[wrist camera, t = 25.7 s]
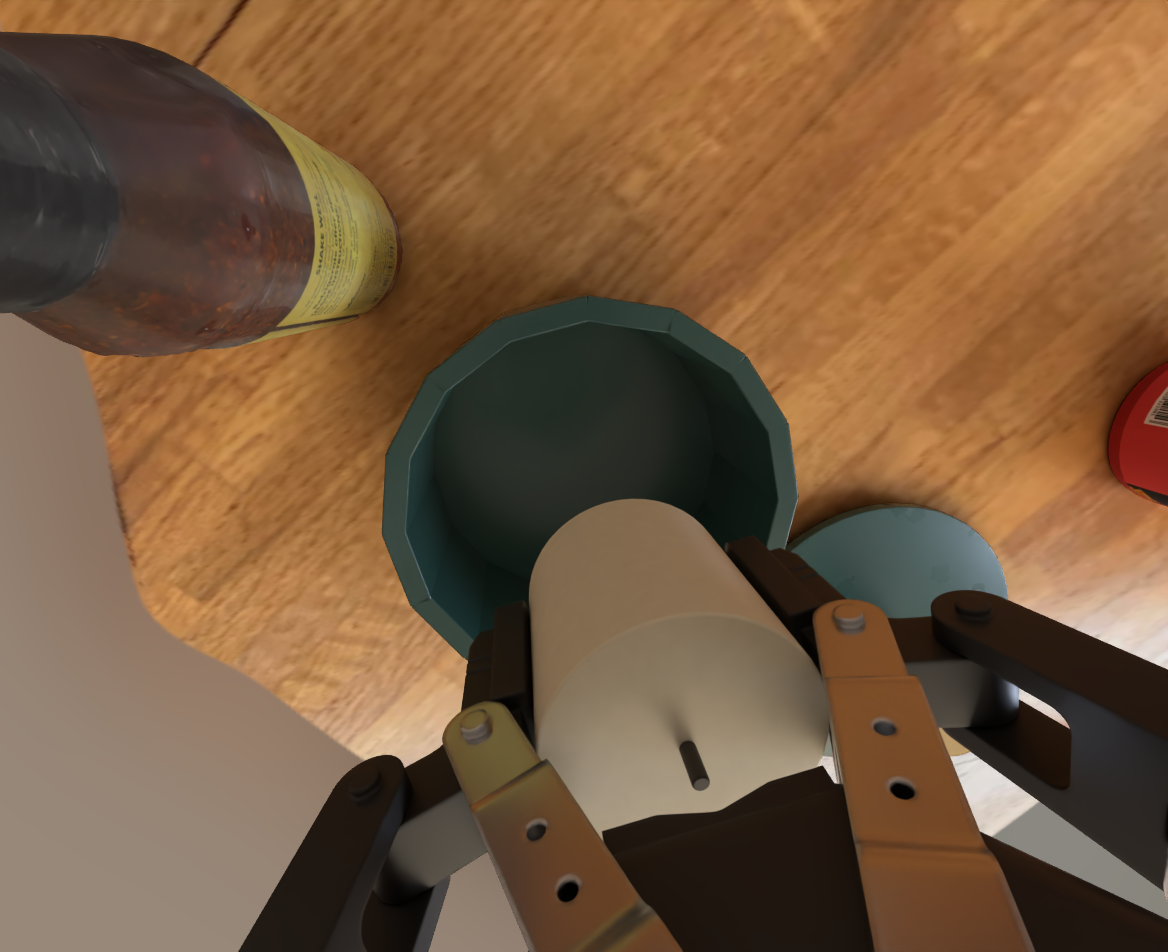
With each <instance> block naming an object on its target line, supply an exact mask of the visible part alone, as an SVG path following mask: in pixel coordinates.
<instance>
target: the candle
mask: <svg viewBox="0 0 1168 952" xmlns="http://www.w3.org/2000/svg"><path fill="white" fill-rule="evenodd" d="M529 610H530V634H531V659H532V684H533V708H534V733H535V751H536V753H537V755H538V756H539V758H540V759H541V761H543V760H544V759H548V760H549V761H550V763H551V764H552V765H553V767H554V768H555V770H556V771H557V773H558V774H559V776H560V777H561V779H562V780H563V782H564V783H565V785H566V786H567V788H568V789H569V791H570V792H571V794H572V795H573V797H574V798H575V800H576V801H577V803H578V804H579V806H580V807H581V809H582V810H583V812H584V813H585V815H586V816H587V818H588V819H589V821H590V822H591V824H592V825H593V827H594V828H595V830H596V831H597V833H598V834H599V836H600V837H601V839H602V840H603V836H602V831H604V830H608V829H611V828H615V827H618V826H621V825H625V824H628V823H631V822H635V821H638V820H641V819H645V818H648V817H651V816H655V815H666V814H684V813H703V812H716V811H719V810H721V809H724V808H725V807H727V806H729V805H730V804H732V803H734V802H735V801H737V800H739V799H740V798H742V797H744V796H745V795H747V794H749V793H750V792H752V791H754V790H756V789H757V788H759V787H761V786H762V785H764V784H766V783H767V782H769V781H772V780H776V779H779V778H782V777H786V776H789V775H793V774H796V773H799V772H803V771H806V770H809V769H813V768H816V767H818V766H819V764H820V761H821V759H822V756H823V754H824V751H825V747H826V743H827V739H828V734H829V724H830V722H829V715H828V709H827V703H826V698H825V692H824V686H823V681H822V677H821V675H820V672H819V671H818V669H817V667H816V666H815V664H814V662H813V661H812V659H811V658H810V657H809V655H808V654H807V653H806V652H805V650H804V649H803V648H802V647H801V646H800V644H799V643H798V642H797V641H796V639H795V638H794V637H793V636H792V635H791V633H790V632H789V631H788V630H787V628H786V627H785V626H784V625H783V623H782V622H781V621H780V620H779V619H778V617H777V616H776V615H775V614H774V612H773V611H772V610H771V609H770V608H769V606H768V605H767V604H766V603H765V601H764V600H763V599H762V598H761V596H760V595H759V594H758V593H757V592H756V590H755V589H754V588H753V587H752V585H751V584H750V583H749V582H748V581H747V579H746V578H745V577H744V576H743V574H742V573H741V572H740V571H739V569H738V568H737V567H736V566H735V565H734V563H733V562H732V561H731V560H730V558H729V557H728V556H727V555H726V554H725V552H724V551H723V550H722V549H721V547H720V546H719V545H718V544H717V543H716V541H715V540H714V539H713V538H712V536H711V535H710V534H709V533H708V532H707V530H706V529H705V528H704V527H703V526H702V525H701V524H700V523H699V522H698V521H697V520H696V519H694V518H693V517H692V516H690V515H689V514H687V513H686V512H684V511H683V510H680V509H678V508H676V507H674V506H672V505H669V504H666V503H662V502H659V501H653V500H647V499H623V500H616V501H611V502H607V503H603V504H600V505H598V506H595V507H592V508H590V509H588V510H586V511H584V512H582V513H580V514H578V515H577V516H575V517H574V518H572V519H571V520H569V521H568V522H567V523H565V524H564V525H563V526H562V527H561V528H560V529H558V530H557V532H556V533H555V534H554V535H553V536H552V537H551V538H550V539H549V541H548V542H547V543H546V545H545V546H544V548H543V549H542V551H541V553H540V555H539V557H538V559H537V560H536V563H535V566H534V569H533V571H532V576H531V580H530V587H529Z"/></svg>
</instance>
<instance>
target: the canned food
mask: <svg viewBox="0 0 1168 952" xmlns="http://www.w3.org/2000/svg"><path fill="white" fill-rule="evenodd" d="M1108 453H1109V462H1110V465H1111V468H1112V471H1113V473H1114V475H1115V476H1116V478H1117V479H1118V481H1119V482H1120V483H1122V484H1123V485H1124V486H1125V487H1126V488H1128V489H1129V490H1131V491H1132V492H1134V493H1135V494H1136V495H1138V496H1139V497H1142V498H1144V499H1146V500H1149V501H1152V502H1155V503H1158V504H1161V505H1164V506H1167V507H1168V362H1167V363H1165V364H1163V365H1161V366H1159V367H1158V368H1156V369H1155V370H1153V371H1152V372H1151V373H1149V374H1148V375H1147V376H1146V377H1145V378H1143V379H1142V380H1141V381H1140V382H1139V383H1138V384H1137V385H1136V386H1135V388H1134V389H1133V390H1132V391H1131V392H1130V394H1129V395H1128V396H1127V397H1126V399H1125V401H1124V402H1123V404H1122V406H1121V407H1120V409H1119V410H1118V413H1117V415H1116V417H1115V420H1114V422H1113V425H1112V429H1111V433H1110V437H1109V447H1108Z"/></svg>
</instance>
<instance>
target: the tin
mask: <svg viewBox="0 0 1168 952" xmlns="http://www.w3.org/2000/svg"><path fill="white" fill-rule="evenodd" d="M798 497H799V496H798V489H797V481H796V474H795V467H794V459H793V452H792V445H791V437H790V430H789V424H788V423H787V420H786V418H785V416H784V415H783V413H782V412H781V410H780V408H779V407H778V405H777V404H776V402H775V400H774V399H773V397H772V396H771V394H770V392H769V391H768V389H767V388H766V386H765V384H764V383H763V381H762V380H761V378H760V376H759V375H758V373H757V372H756V370H755V368H754V367H753V365H752V364H751V362H750V360H749V359H748V357H746V356H745V354H744V353H742V352H741V351H739V350H738V349H736V348H735V347H733V346H732V345H730V344H729V343H727V342H726V341H724V340H723V339H721V338H720V337H718V336H716V335H715V334H713V333H712V332H710V331H709V330H707V329H706V328H704V327H703V326H701V325H700V324H698V323H697V322H695V321H694V320H692V319H690V318H689V317H687V316H686V315H684V314H683V313H681V312H680V311H678V310H675V309H674V308H667V307H661V306H655V305H648V304H642V303H635V302H629V301H622V300H616V299H610V298H603V297H597V296H590V295H579V296H564V297H561V298H557V299H553V300H549V301H546V302H542V303H538V304H534V305H530V306H527V307H523V308H519V309H515V310H512V311H508V312H504V313H503V314H501V315H499V316H498V317H497V318H496V319H494V320H493V321H492V322H491V323H489V324H488V325H487V326H485V327H484V328H483V329H482V330H480V331H479V332H478V333H477V334H475V335H474V336H473V337H472V338H470V339H469V340H468V341H467V342H465V343H464V344H463V345H462V346H460V347H459V348H458V349H457V350H455V351H454V352H453V353H452V354H450V355H449V356H448V357H447V358H446V359H445V360H443V361H442V362H441V363H440V364H439V365H438V366H437V367H435V368H434V369H433V370H432V371H431V372H430V373H429V374H428V375H427V376H426V377H425V379H424V381H423V382H422V384H421V386H420V388H419V390H418V392H417V394H416V396H415V398H414V400H413V402H412V404H411V406H410V407H409V409H408V411H407V413H406V415H405V417H404V419H403V421H402V423H401V425H400V427H399V429H398V431H397V432H396V434H395V436H394V438H393V440H392V442H391V444H390V446H389V448H388V450H387V453H386V457H385V478H384V499H383V519H382V536H383V539H384V541H385V544H386V546H387V549H388V551H389V554H390V556H391V559H392V561H393V564H394V566H395V569H396V571H397V574H398V576H399V579H400V581H401V584H402V586H403V589H404V591H405V594H406V596H407V599H408V601H409V604H410V606H412V608H413V609H414V610H415V611H416V612H417V613H418V614H419V615H420V616H421V617H422V618H423V619H424V620H425V621H426V622H427V623H428V624H429V625H430V626H431V627H432V628H433V629H435V630H436V631H437V632H438V633H439V634H440V635H441V636H442V637H443V638H444V639H445V640H446V641H447V642H448V643H449V644H450V645H451V646H452V647H453V648H454V649H455V650H456V651H457V652H458V653H459V654H460V655H461V656H462V657H463V658H465V659H466V660H468V655H469V648H470V646H471V644H472V643H473V641H474V640H475V638H476V637H477V635H478V634H479V633H480V632H483V631H487V630H490V629H494V616H495V608H496V607H499V606H503V605H506V604H510V603H513V602H517V601H521V600H524V601H525V603H526V606H527V608H528V611H529V615H530V610H529V587H530V580H531V576H532V571H533V569H534V566H535V563H536V560H537V559H538V557H539V555H540V553H541V551H542V549H543V548H544V546H545V545H546V543H547V542H548V541H549V539H550V538H551V537H552V536H553V535H554V534H555V533H556V532H557V530H558V529H560V528H561V527H562V526H563V525H564V524H565V523H567V522H568V521H569V520H571V519H572V518H574V517H575V516H577V515H578V514H580V513H582V512H584V511H586V510H588V509H590V508H592V507H595V506H598V505H600V504H603V503H607V502H611V501H616V500H623V499H647V500H653V501H659V502H662V503H666V504H669V505H672V506H674V507H676V508H678V509H680V510H683V511H684V512H686V513H687V514H689V515H690V516H692V517H693V518H694V519H696V520H697V521H698V522H699V523H700V524H701V525H702V526H703V527H704V528H705V529H706V530H707V532H708V533H709V534H710V535H711V536H712V538H713V539H714V540H715V541H716V543H717V544H718V545H719V546H720V547H721V549H722V550H723V551H724V552H725V543H727V542H730V541H734V540H737V539H741V538H745V537H748V536H752V535H754V536H755V537H757V538H758V539H759V540H760V541H761V542H762V543H763V544H764V545H765V546H766V547H767V548H768V549H769V550H773V549H777V548H782V549H785V547H786V543H787V539H788V536H789V532H790V528H791V524H792V521H793V517H794V513H795V509H796V506H797V502H798Z"/></svg>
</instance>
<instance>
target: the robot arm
mask: <svg viewBox="0 0 1168 952" xmlns="http://www.w3.org/2000/svg"><path fill="white" fill-rule="evenodd" d="M725 554H726V555H727V556H728V557H729V558H730V560H731V561H732V562H733V563H734V565H735V566H736V567H737V568H738V569H739V571H740V572H741V573H742V574H743V576H744V577H745V578H746V579H747V581H748V582H749V583H750V584H751V585H752V587H753V588H754V589H755V590H756V592H757V593H758V594H759V595H760V596H761V598H762V599H763V600H764V601H765V603H766V604H767V605H768V606H769V608H770V609H771V610H772V611H773V612H774V614H775V615H776V616H777V617H778V619H779V620H780V621H781V622H782V623H783V625H784V626H785V627H786V628H787V630H788V631H789V632H790V633H791V635H792V636H793V637H794V638H795V639H796V641H797V642H798V643H799V644H800V646H801V647H802V648H803V649H804V650H805V652H806V653H807V654H808V655H809V657H810V658H811V659H812V661H813V662H814V664H815V666H816V667H817V669H818V671H819V672H820V675H821V677H822V681H823V686H824V692H825V698H826V703H827V709H828V715H829V722H830V724H829V738H830V744H831V750H832V756H833V762H834V767H835V773H836V779H837V784H834V782H833V780H832V779H831V777H830V776H829V774H828V773H827V771H826V770H825V768H824V767H823V766H819V767H816V768H813V769H809V770H806V771H803V772H799V773H796V774H793V775H789V776H786V777H782V778H779V779H776V780H772V781H769V782H767V783H766V784H764V785H762V786H761V787H759V788H757V789H756V790H754V791H752V792H750V793H749V794H747V795H745V796H744V797H742V798H740V799H739V800H737V801H735V802H734V803H732V804H730V805H729V806H727V807H725V808H724V809H721V810H719V811H716V812H703V813H684V814H666V815H655V816H651V817H648V818H645V819H641V820H638V821H635V822H631V823H628V824H625V825H621V826H618V827H615V828H611V829H608V830H604V831H602V836H603V840H602V839H601V837H600V836H599V834H598V833H597V831H596V830H595V828H594V827H593V825H592V824H591V822H590V821H589V819H588V818H587V816H586V815H585V813H584V812H583V810H582V809H581V807H580V806H579V804H578V803H577V801H576V800H575V798H574V797H573V795H572V794H571V792H570V791H569V789H568V788H567V786H566V785H565V783H564V782H563V780H562V779H561V777H560V776H559V774H558V773H557V771H556V770H555V768H554V767H553V765H552V764H551V763H550V761H549V760H548V759H544V760H543V761H541V759H540V758H539V756H538V755H537V753H536V751H535V733H534V708H533V684H532V659H531V634H530V615H529V611H528V608H527V606H526V603H525V601H524V600H521V601H517V602H513V603H510V604H506V605H503V606H499V607H496V608H495V616H494V629H490V630H487V631H483V632H480V633H479V634H478V635H477V637H476V638H475V640H474V641H473V643H472V644H471V646H470V648H469V655H468V664H467V670H466V674H467V675H466V678H465V685H464V693H463V701H462V708H461V712H460V713H459V714H457V715H456V716H455V717H454V718H453V719H452V720H451V721H450V722H449V724H448V725H447V727H446V728H445V731H444V733H443V737H442V742H443V745H442V746H441V747H440V748H438V749H437V750H435V751H434V752H432V753H431V754H429V755H427V756H426V757H424V758H422V759H420V760H418V761H416V762H415V763H413V764H411V765H409V766H407V767H406V768H404V766H403V763H402V762H401V760H400V759H399V758H397V757H395V756H392V755H381V756H376V757H373V758H370V759H368V760H366V761H364V762H362V763H360V764H358V765H357V766H355V767H354V768H352V770H350V771H349V772H348V773H346V775H344V776H343V777H342V778H341V780H340V781H339V782H338V783H337V785H336V786H335V788H334V789H333V791H332V793H331V794H330V796H329V798H328V799H327V801H326V803H325V804H324V806H323V808H322V809H321V811H320V813H319V815H318V816H317V818H316V820H315V822H314V823H313V825H312V827H311V828H310V830H309V832H308V833H307V835H306V837H305V839H304V840H303V842H302V844H301V845H300V847H299V849H298V851H297V852H296V854H295V856H294V857H293V859H292V861H291V862H290V864H289V866H288V868H287V869H286V871H285V873H284V874H283V876H282V878H281V880H280V882H279V883H278V885H277V887H276V888H275V890H274V892H273V893H272V895H271V897H270V898H269V900H268V902H267V904H266V905H265V907H264V909H263V910H262V912H261V914H260V915H259V917H258V919H257V921H256V923H255V924H254V926H253V927H252V929H251V931H250V933H249V934H248V936H247V938H246V939H245V941H244V943H243V945H242V946H241V948H240V950H239V952H428V951H429V948H430V945H431V941H432V938H433V935H434V932H435V928H436V925H437V922H438V919H439V915H440V912H441V909H442V906H443V902H444V899H445V896H446V893H447V889H448V886H449V882H450V875H452V874H453V873H455V872H456V871H458V870H459V869H461V868H463V867H464V866H466V865H467V864H469V863H470V862H472V861H474V860H475V859H477V858H478V857H480V856H481V855H483V854H485V853H486V852H488V853H489V856H490V858H491V860H492V863H493V866H494V868H495V870H496V873H497V875H498V878H499V880H500V882H501V885H502V887H503V889H504V892H505V894H506V897H507V899H508V901H509V904H510V906H511V909H512V911H513V914H514V916H515V918H516V921H517V923H518V925H519V928H520V930H521V933H522V935H523V937H524V940H525V942H526V945H527V947H528V949H529V951H528V952H1168V919H1166V918H1164V917H1161V916H1159V915H1157V914H1155V913H1153V912H1151V911H1148V910H1146V909H1144V908H1142V907H1140V906H1138V905H1136V904H1134V903H1131V902H1129V901H1127V900H1125V899H1123V898H1121V897H1119V896H1116V895H1114V894H1112V893H1110V892H1108V891H1106V890H1104V889H1101V888H1099V887H1097V886H1095V885H1093V884H1091V883H1089V882H1086V881H1084V880H1082V879H1080V878H1078V877H1076V876H1074V875H1072V874H1070V873H1067V872H1065V871H1063V870H1061V869H1059V868H1057V867H1055V866H1052V865H1050V864H1048V863H1046V862H1044V861H1042V860H1039V859H1038V858H1035V857H1033V856H1031V855H1029V854H1027V853H1025V852H1022V851H1020V850H1018V849H1016V848H1014V847H1012V846H1010V845H1007V844H1005V843H1003V842H1001V841H999V840H997V839H995V838H993V837H991V836H988V835H986V834H984V833H982V832H980V831H979V829H978V826H977V824H976V821H975V818H974V816H973V813H972V811H971V808H970V806H969V803H968V801H967V798H966V796H965V793H964V791H963V788H962V786H961V783H960V781H959V778H958V776H957V773H956V771H955V768H954V766H953V763H952V761H951V758H950V756H949V753H948V750H947V748H946V745H945V743H944V740H943V738H942V735H941V733H940V730H939V728H942V729H943V730H944V732H945V733H946V734H948V735H949V736H950V737H951V738H953V739H954V740H955V741H957V742H958V743H960V744H961V745H962V746H964V747H965V748H966V749H968V750H969V751H971V752H972V753H973V754H975V755H976V756H977V757H979V758H980V759H982V760H983V761H984V762H986V763H987V764H988V765H990V766H991V767H993V768H994V769H995V770H997V771H998V772H1000V773H1001V774H1002V775H1004V776H1005V777H1006V778H1008V779H1009V780H1011V781H1012V782H1013V783H1015V784H1016V785H1017V786H1019V787H1020V788H1022V789H1023V790H1024V791H1026V792H1027V793H1029V794H1030V795H1031V796H1033V797H1034V798H1035V799H1037V800H1038V801H1040V802H1041V803H1042V804H1044V805H1045V806H1046V807H1048V808H1049V809H1051V810H1052V811H1053V812H1055V813H1056V814H1058V815H1059V816H1060V817H1062V818H1063V819H1064V820H1066V821H1067V822H1069V823H1070V824H1071V825H1073V826H1074V827H1076V828H1077V829H1078V830H1080V831H1081V832H1083V833H1084V834H1085V835H1087V836H1088V837H1089V838H1091V839H1092V840H1093V841H1095V842H1096V843H1098V844H1099V845H1100V846H1102V847H1103V848H1104V849H1106V850H1107V851H1109V852H1110V853H1111V854H1113V855H1114V856H1116V857H1117V858H1118V859H1120V860H1121V861H1122V862H1124V863H1125V864H1127V865H1128V866H1129V867H1131V868H1132V869H1133V870H1135V871H1136V872H1138V873H1139V874H1140V875H1142V876H1143V877H1145V878H1146V879H1147V880H1149V881H1150V882H1151V883H1153V884H1154V885H1156V886H1157V887H1158V888H1160V889H1161V890H1163V891H1164V893H1165V896H1166V899H1167V901H1168V670H1167V669H1165V668H1163V667H1160V666H1158V665H1156V664H1154V663H1151V662H1149V661H1147V660H1144V659H1142V658H1140V657H1138V656H1135V655H1133V654H1131V653H1128V652H1126V651H1124V650H1121V649H1119V648H1117V647H1115V646H1112V645H1110V644H1108V643H1105V642H1103V641H1101V640H1098V639H1096V638H1094V637H1092V636H1089V635H1087V634H1085V633H1082V632H1080V631H1078V630H1075V629H1073V628H1071V627H1069V626H1066V625H1064V624H1062V623H1059V622H1057V621H1055V620H1053V619H1050V618H1048V617H1046V616H1043V615H1041V614H1039V613H1036V612H1034V611H1032V610H1030V609H1027V608H1025V607H1023V606H1020V605H1018V604H1016V603H1013V602H1011V601H1009V600H1007V599H1004V598H1002V597H1000V596H997V595H994V594H991V593H987V592H982V591H975V590H957V591H951V592H947V593H944V594H941V595H939V596H938V597H936V598H935V599H934V600H933V601H932V603H931V616H927V617H912V618H887V616H886V614H885V613H884V612H883V611H882V610H881V609H880V608H879V607H877V606H875V605H874V604H871V603H868V602H865V601H861V600H853V599H846V598H845V597H844V596H843V595H841V594H840V593H839V592H838V591H837V590H836V589H835V588H834V587H833V586H832V585H831V584H829V583H828V582H827V581H826V580H825V579H824V578H823V577H822V576H821V575H818V573H817V572H816V571H815V570H814V569H813V568H812V567H811V566H810V567H809V565H808V563H806V562H805V561H804V560H803V559H802V558H801V557H800V556H799V555H798V554H796V553H793V552H790V551H788V550H785V549H782V548H777V549H773V550H769V549H768V548H767V547H766V546H765V545H764V544H763V543H762V542H761V541H760V540H759V539H758V538H757V537H755V536H754V535H752V536H748V537H745V538H741V539H737V540H734V541H730V542H727V543H725ZM1019 688H1020V689H1022V690H1024V691H1025V692H1027V693H1029V694H1031V695H1032V696H1034V697H1036V698H1038V699H1039V700H1041V701H1043V702H1045V703H1046V704H1048V705H1050V706H1051V707H1053V708H1054V709H1055V710H1056V711H1057V712H1059V713H1060V714H1061V716H1062V717H1063V718H1064V719H1065V720H1066V722H1067V724H1068V725H1069V727H1070V729H1069V728H1067V727H1065V726H1064V725H1062V724H1060V723H1058V722H1057V721H1055V720H1053V719H1052V718H1050V717H1048V716H1046V715H1045V714H1043V713H1041V712H1040V711H1038V710H1036V709H1034V708H1033V707H1031V706H1029V705H1028V704H1026V703H1024V702H1023V701H1021V700H1019Z"/></svg>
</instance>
